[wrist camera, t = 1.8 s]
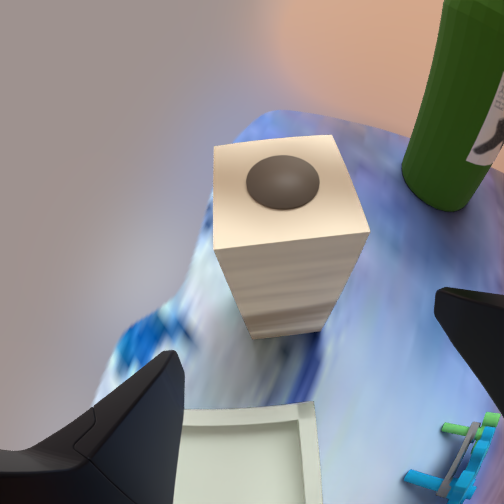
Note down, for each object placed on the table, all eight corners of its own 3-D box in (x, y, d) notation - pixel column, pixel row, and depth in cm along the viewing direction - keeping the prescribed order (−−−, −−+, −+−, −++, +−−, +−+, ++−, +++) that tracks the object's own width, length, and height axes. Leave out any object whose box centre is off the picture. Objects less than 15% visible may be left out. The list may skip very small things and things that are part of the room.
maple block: (320, 331, 20) (371, 229, 8) (252, 339, 20) (212, 248, 9) (310, 270, 22) (331, 132, 11) (247, 277, 23) (213, 144, 11)
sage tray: (320, 547, 11) (325, 565, 8) (162, 545, 11) (147, 559, 9) (308, 401, 17) (313, 401, 15) (144, 407, 18) (125, 406, 15)
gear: (435, 549, 7) (427, 561, 4) (382, 529, 12) (345, 525, 9) (499, 437, 12) (515, 388, 9) (446, 427, 17) (438, 379, 14)
